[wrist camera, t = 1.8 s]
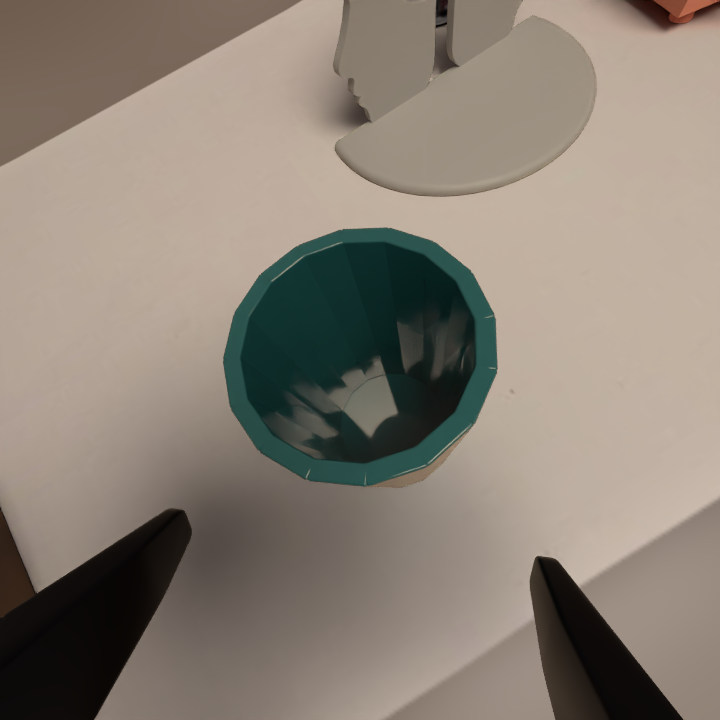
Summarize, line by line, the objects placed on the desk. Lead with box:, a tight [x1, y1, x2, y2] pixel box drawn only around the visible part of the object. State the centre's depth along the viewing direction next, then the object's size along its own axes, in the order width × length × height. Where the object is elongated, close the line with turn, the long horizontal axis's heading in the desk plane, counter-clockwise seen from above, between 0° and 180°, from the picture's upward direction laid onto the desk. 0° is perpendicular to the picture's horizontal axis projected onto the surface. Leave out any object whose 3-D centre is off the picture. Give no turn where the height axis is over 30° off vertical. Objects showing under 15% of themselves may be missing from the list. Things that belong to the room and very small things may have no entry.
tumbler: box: [223, 228, 498, 488], centre depth 15 cm, size 7×7×13 cm
